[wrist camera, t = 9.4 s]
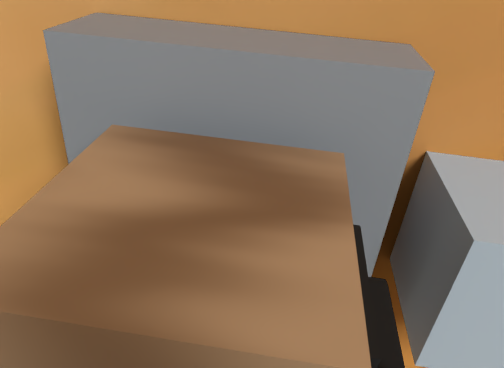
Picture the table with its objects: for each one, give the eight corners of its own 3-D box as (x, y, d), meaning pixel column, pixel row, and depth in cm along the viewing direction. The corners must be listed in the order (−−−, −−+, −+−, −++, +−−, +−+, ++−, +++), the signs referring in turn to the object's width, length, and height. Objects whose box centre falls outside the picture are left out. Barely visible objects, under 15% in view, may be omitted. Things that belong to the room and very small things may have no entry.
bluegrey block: (575, 169, 14) (691, 271, 10) (513, 275, 16) (583, 392, 12) (425, 150, 14) (474, 240, 10) (389, 257, 17) (414, 365, 13)
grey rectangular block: (410, 44, 12) (434, 71, 10) (346, 280, 18) (351, 338, 15) (95, 12, 13) (43, 30, 11) (125, 248, 18) (94, 298, 16)
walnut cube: (344, 153, 10) (372, 372, 5) (309, 316, 13) (304, 552, 8) (112, 124, 11) (-79, 298, 5) (132, 288, 14) (22, 495, 9)
